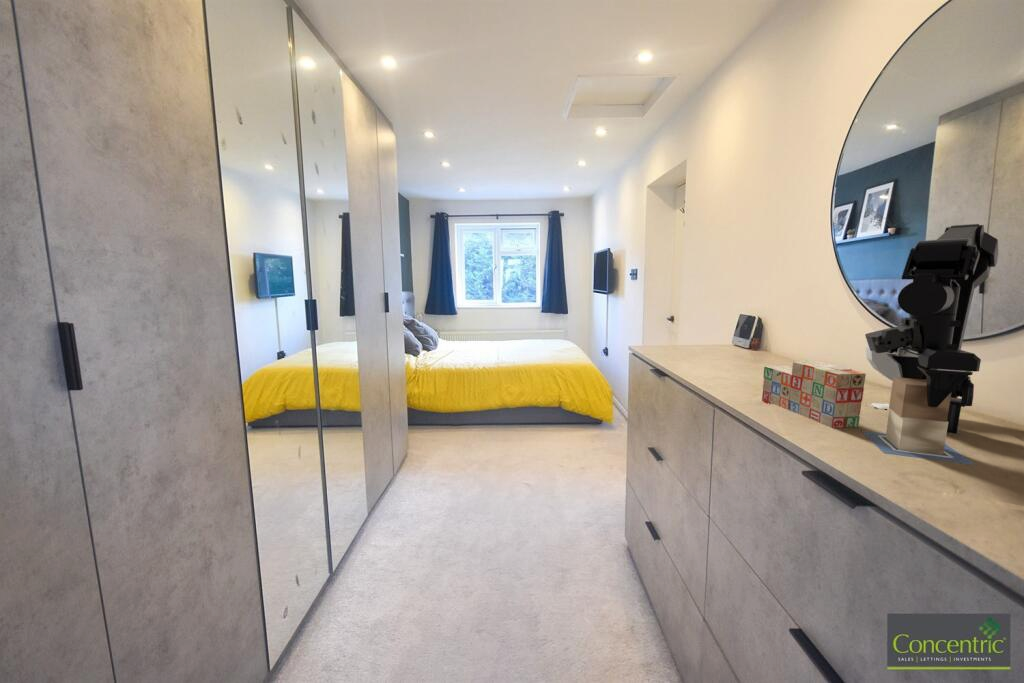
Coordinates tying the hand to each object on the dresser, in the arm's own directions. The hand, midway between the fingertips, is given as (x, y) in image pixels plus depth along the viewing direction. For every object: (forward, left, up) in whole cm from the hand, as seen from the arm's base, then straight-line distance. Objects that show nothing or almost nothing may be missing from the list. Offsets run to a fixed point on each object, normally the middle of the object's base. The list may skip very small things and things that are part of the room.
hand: (919, 399), depth 75 cm
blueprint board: (0, 0, -9) cm, 9 cm away
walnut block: (0, 0, -3) cm, 3 cm away
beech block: (0, 0, -9) cm, 9 cm away
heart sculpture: (-9, -30, -10) cm, 33 cm away
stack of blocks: (+13, -17, -10) cm, 23 cm away
